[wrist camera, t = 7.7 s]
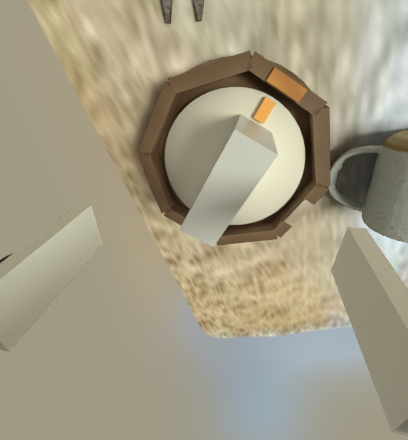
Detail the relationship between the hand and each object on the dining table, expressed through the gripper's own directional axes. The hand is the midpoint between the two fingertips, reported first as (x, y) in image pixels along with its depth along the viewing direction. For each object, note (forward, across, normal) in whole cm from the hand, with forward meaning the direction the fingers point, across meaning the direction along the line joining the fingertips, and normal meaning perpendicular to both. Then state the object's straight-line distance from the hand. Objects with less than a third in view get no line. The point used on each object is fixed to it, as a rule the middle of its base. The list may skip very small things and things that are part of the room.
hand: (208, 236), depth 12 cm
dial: (+14, 0, -1) cm, 14 cm away
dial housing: (+15, 0, -1) cm, 15 cm away
